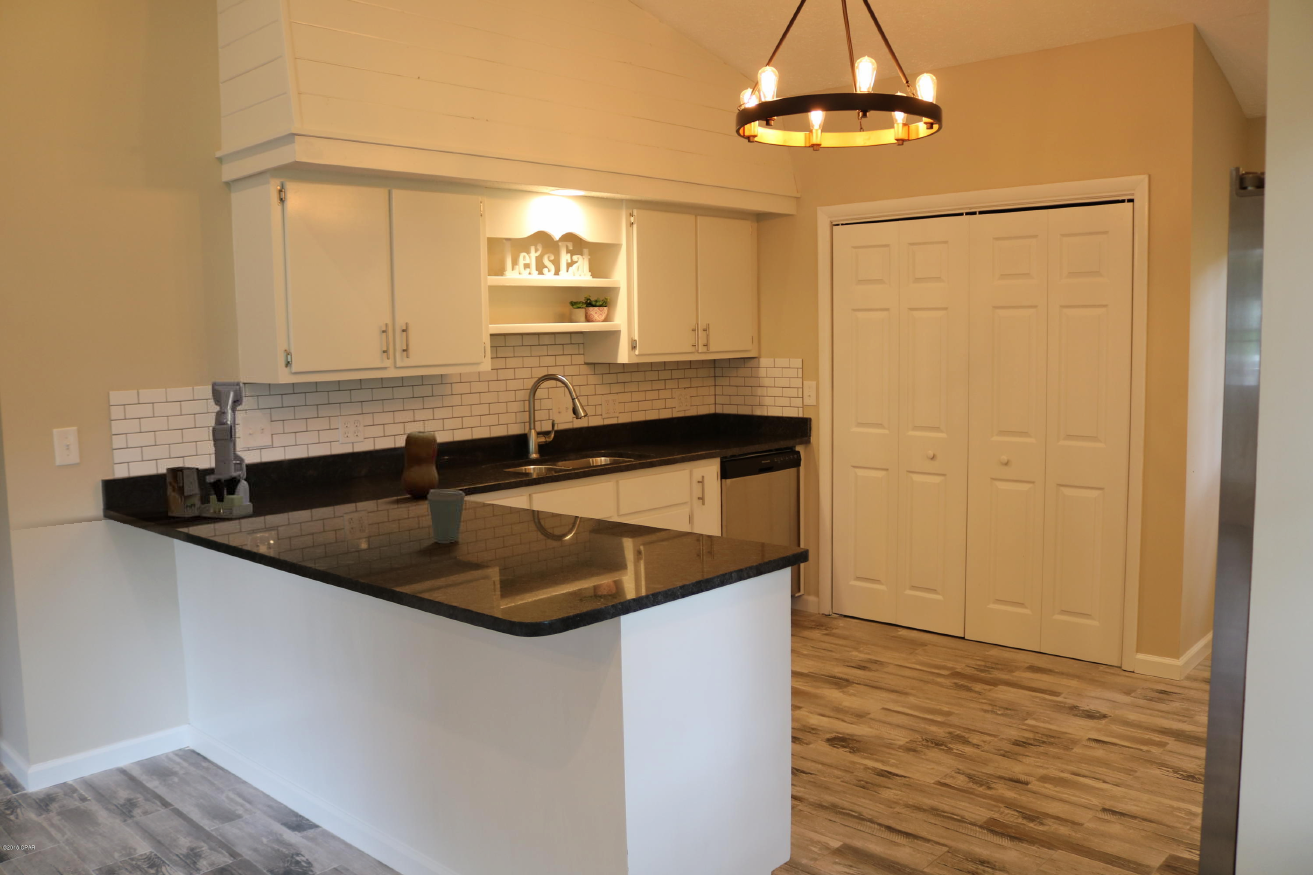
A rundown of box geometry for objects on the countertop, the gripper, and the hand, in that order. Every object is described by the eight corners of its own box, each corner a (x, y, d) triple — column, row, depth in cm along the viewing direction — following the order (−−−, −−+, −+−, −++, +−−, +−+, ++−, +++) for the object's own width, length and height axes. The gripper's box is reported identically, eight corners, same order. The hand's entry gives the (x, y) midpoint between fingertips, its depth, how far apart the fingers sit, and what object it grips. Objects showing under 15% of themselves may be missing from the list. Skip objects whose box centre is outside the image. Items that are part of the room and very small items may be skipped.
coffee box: (202, 515, 337) (200, 467, 335) (185, 517, 331) (183, 469, 330) (183, 513, 341) (182, 465, 340) (166, 515, 335) (165, 467, 334)
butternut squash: (433, 500, 371) (432, 432, 369) (397, 500, 371) (396, 432, 369) (442, 494, 385) (441, 429, 383) (407, 494, 385) (406, 429, 383)
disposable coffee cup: (449, 536, 296) (449, 486, 294) (474, 541, 289) (473, 489, 288) (420, 542, 287) (419, 489, 286) (444, 546, 281) (443, 493, 279)
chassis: (199, 516, 334) (198, 505, 334) (219, 512, 343) (218, 501, 342) (233, 518, 330) (232, 507, 329) (252, 514, 338) (252, 503, 338)
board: (210, 507, 335) (209, 496, 335) (219, 506, 339) (218, 494, 339) (234, 509, 332) (234, 497, 332) (243, 507, 336) (242, 495, 336)
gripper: (217, 463, 326) (219, 504, 328) (249, 458, 340) (250, 498, 341) (200, 462, 329) (201, 503, 330) (232, 458, 342) (233, 497, 343)
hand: (225, 501), depth 336 cm, fingers closed on board, 4 cm apart
